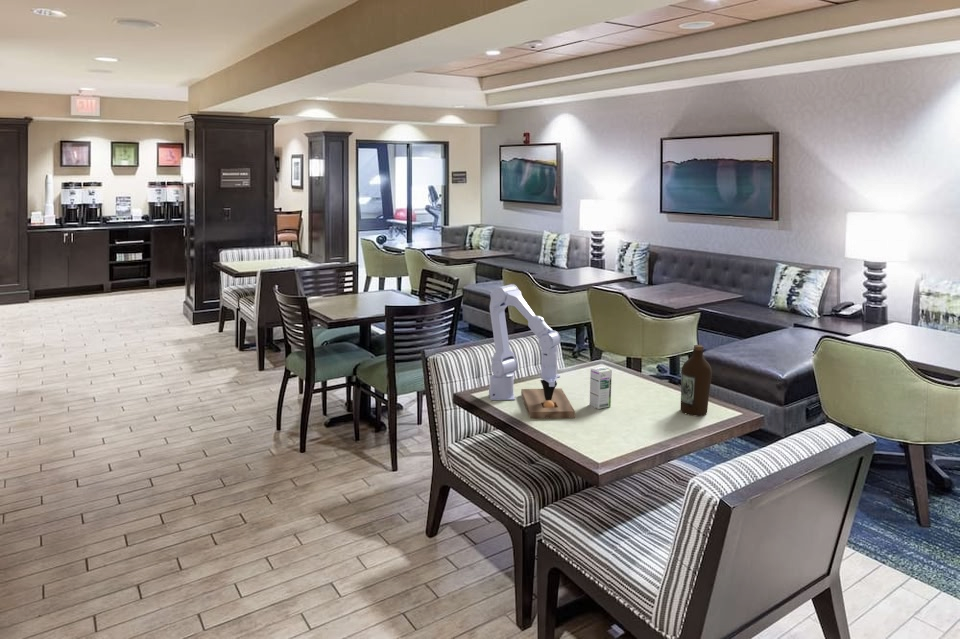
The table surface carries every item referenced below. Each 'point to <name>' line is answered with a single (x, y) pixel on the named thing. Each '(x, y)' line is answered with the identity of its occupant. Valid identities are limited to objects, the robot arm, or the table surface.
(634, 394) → the table surface
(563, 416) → the brown wooden flat board
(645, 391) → the table surface
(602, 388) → the syrup box
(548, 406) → the ball
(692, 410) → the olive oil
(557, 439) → the table surface
